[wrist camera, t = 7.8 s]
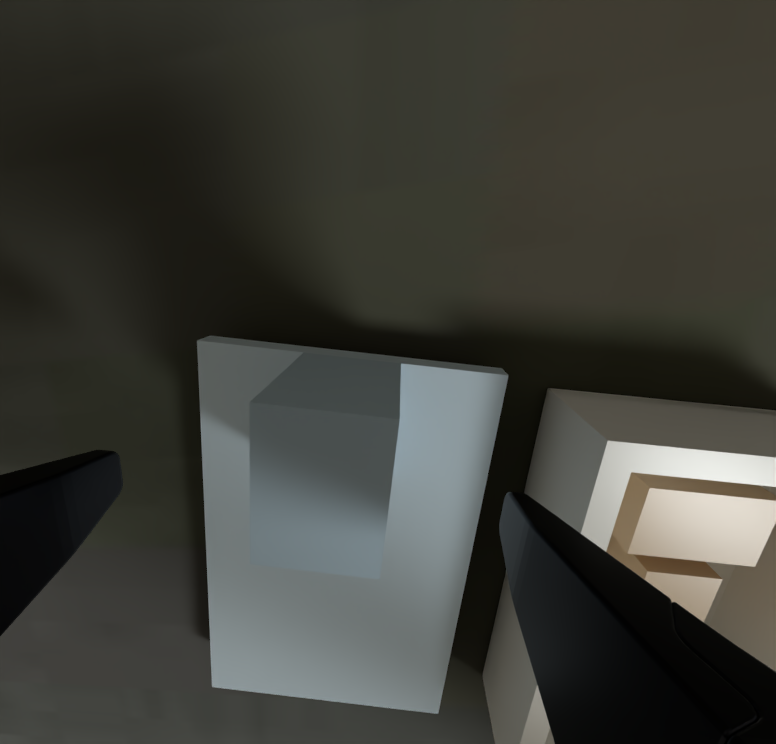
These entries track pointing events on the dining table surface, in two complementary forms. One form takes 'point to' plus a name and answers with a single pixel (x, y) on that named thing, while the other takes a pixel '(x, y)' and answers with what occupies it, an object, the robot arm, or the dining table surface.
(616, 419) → the tub
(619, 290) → the dining table surface
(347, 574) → the lid
